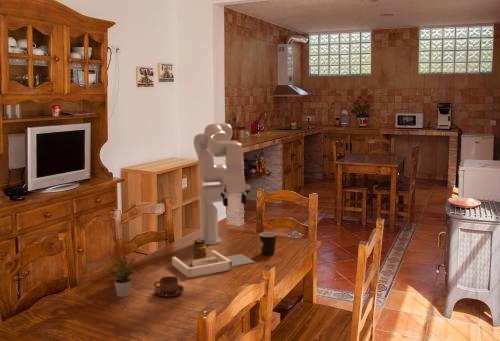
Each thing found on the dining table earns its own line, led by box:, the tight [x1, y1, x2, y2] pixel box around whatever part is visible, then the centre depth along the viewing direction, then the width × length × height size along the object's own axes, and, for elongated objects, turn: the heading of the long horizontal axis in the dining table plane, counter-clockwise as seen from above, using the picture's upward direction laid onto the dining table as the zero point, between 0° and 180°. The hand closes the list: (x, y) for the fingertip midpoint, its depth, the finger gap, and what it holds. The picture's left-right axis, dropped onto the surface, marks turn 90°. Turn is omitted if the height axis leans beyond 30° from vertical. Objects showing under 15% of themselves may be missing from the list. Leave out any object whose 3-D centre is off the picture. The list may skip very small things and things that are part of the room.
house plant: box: [104, 254, 140, 298], centre depth 223 cm, size 14×14×16 cm
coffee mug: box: [259, 231, 277, 256], centre depth 278 cm, size 12×9×10 cm
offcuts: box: [190, 256, 220, 267], centre depth 252 cm, size 5×14×5 cm, turn 119°
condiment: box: [186, 238, 207, 268], centre depth 259 cm, size 7×8×12 cm
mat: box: [225, 253, 256, 268], centre depth 265 cm, size 14×12×1 cm
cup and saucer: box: [153, 275, 185, 298], centre depth 224 cm, size 12×12×6 cm
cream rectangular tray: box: [171, 249, 233, 279], centre depth 256 cm, size 20×22×4 cm
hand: (234, 204), depth 255 cm, fingers open, 9 cm apart
